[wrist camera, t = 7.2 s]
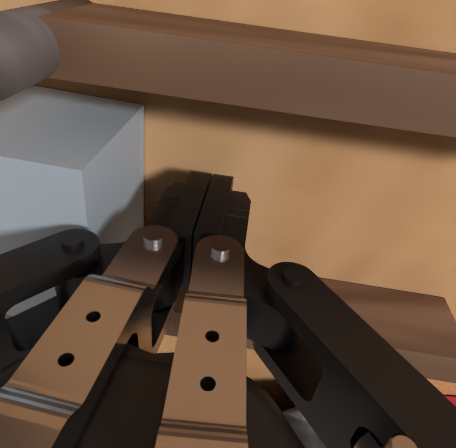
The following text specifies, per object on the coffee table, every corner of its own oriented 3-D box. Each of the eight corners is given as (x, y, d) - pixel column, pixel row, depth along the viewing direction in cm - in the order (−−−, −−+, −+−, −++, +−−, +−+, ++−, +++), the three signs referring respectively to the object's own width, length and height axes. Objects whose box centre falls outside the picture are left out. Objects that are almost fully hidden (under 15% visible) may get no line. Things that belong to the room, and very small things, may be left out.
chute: (54, -6, 11) (-72, 13, 7) (588, 67, 11) (771, 132, 7) (91, 265, 18) (34, 356, 14) (429, 320, 17) (475, 431, 13)
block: (-54, 70, 13) (-203, 120, 9) (144, 104, 13) (81, 170, 9) (-13, 212, 17) (-109, 294, 13) (143, 240, 17) (98, 332, 12)
